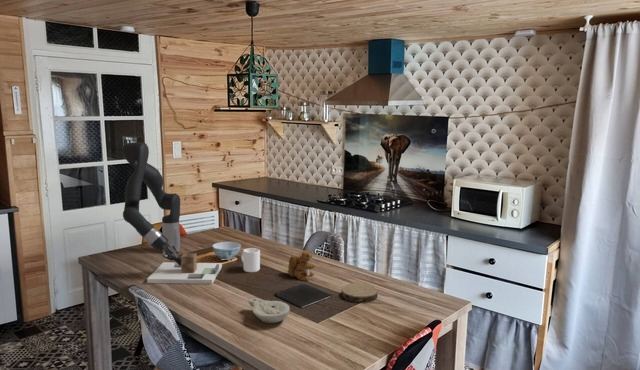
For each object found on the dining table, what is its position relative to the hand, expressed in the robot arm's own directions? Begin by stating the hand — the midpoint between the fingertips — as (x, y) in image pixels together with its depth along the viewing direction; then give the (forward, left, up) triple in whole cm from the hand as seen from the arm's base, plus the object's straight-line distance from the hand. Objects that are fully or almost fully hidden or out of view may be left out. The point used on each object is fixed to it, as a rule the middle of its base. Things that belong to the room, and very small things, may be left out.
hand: (181, 263), depth 233 cm
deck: (-1, +2, -5) cm, 6 cm away
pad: (-4, +13, -5) cm, 15 cm away
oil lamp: (+34, +56, -6) cm, 66 cm away
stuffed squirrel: (-15, +56, -6) cm, 58 cm away
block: (-1, +3, -3) cm, 5 cm away
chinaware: (-30, +10, -6) cm, 32 cm away
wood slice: (+1, +88, -6) cm, 88 cm away
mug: (-18, +28, -6) cm, 34 cm away
